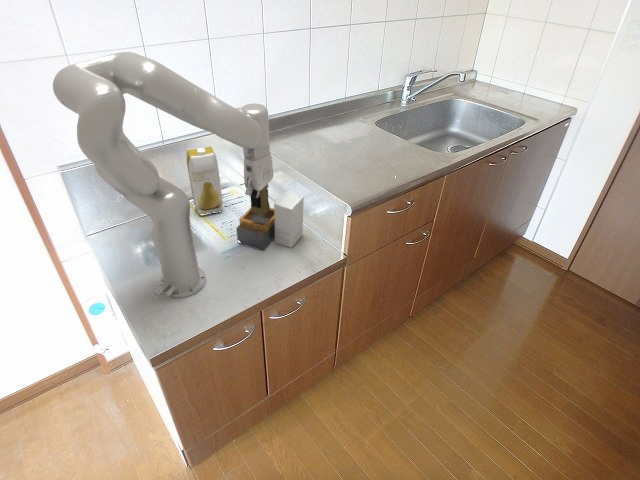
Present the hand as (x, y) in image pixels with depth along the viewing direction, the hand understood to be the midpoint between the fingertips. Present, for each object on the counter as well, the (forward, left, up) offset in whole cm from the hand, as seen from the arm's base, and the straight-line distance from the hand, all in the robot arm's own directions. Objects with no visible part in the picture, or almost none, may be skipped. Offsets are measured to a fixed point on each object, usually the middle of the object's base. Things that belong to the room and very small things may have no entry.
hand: (259, 202), depth 128 cm
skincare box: (+2, -9, -13) cm, 16 cm away
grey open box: (0, 0, -13) cm, 13 cm away
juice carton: (+5, +24, -13) cm, 27 cm away
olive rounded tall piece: (0, 0, -2) cm, 2 cm away
